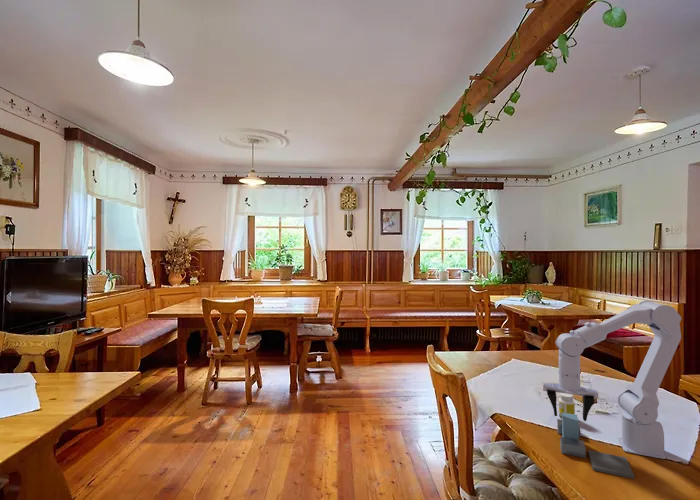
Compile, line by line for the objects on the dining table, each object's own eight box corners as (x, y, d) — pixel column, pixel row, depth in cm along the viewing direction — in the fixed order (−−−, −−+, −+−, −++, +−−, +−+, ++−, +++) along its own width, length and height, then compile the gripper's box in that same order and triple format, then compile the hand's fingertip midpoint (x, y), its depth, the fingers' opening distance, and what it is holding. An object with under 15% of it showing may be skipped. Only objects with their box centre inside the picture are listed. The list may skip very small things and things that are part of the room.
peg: (577, 440, 112) (576, 414, 112) (578, 446, 108) (578, 420, 108) (562, 437, 114) (562, 412, 114) (563, 443, 110) (563, 418, 110)
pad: (625, 460, 101) (625, 457, 101) (634, 479, 93) (634, 476, 93) (588, 452, 105) (588, 449, 105) (593, 470, 97) (593, 467, 97)
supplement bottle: (576, 417, 126) (575, 394, 126) (573, 422, 123) (572, 398, 123) (560, 413, 129) (560, 390, 129) (557, 418, 126) (557, 394, 126)
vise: (577, 427, 119) (577, 418, 119) (585, 458, 103) (585, 447, 103) (556, 424, 122) (556, 415, 122) (561, 453, 105) (561, 443, 105)
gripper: (543, 374, 110) (543, 418, 111) (599, 381, 104) (600, 427, 104) (542, 367, 117) (542, 408, 117) (595, 373, 110) (596, 417, 111)
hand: (569, 417), depth 111 cm, fingers open, 7 cm apart
